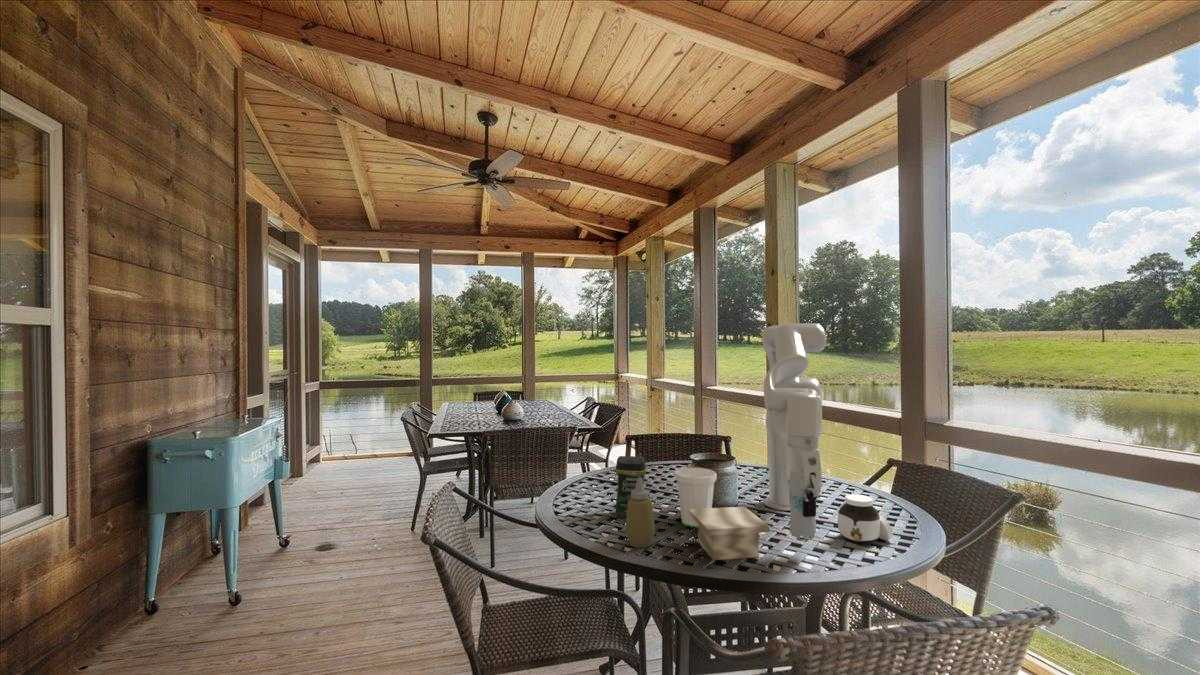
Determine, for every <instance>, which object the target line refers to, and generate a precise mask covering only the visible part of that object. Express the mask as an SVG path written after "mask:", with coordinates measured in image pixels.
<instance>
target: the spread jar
mask: <svg viewBox="0 0 1200 675" xmlns="http://www.w3.org/2000/svg"><path fill="white" fill-rule="evenodd" d="M844 501H845V502H844V503H843V504H842V505H841V506H840V508H839V509H838V512H837V513H838V514H837V526H838V528H837V529H838V532H839V534H840V535H841V537H842V538H843V539H844V540H845V541H847V542H849V543H851V544H855V545H860V546H861V545H862V546H867V545H872V544H874V543H875V542H876V541H878V540H879V539H881V540H883V541H889V540H891V539H892V538H894V533H893V529H892V527H891V525H890V524H889V522H888V521H887V519H886V518H885V517H884V516H882V515H881V514H880V513H879V512H878V510H877V509H876V507H874V506H873V498H872V497H870V496H867V495H863V494H846V495H845V496H844Z"/></svg>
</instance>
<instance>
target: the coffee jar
mask: <svg viewBox="0 0 1200 675" xmlns="http://www.w3.org/2000/svg"><path fill="white" fill-rule="evenodd" d="M646 466H647V465H646V460H645V457H644V456H635V455H634V456H632V455H625V456H624V455H619V456H618V458H617V459H616V465H615V472H616V475H617V492H616V500H615V501H616V502H615V515H616V516H618V517H619V518H625V519H626V518H627V507H628V500H629V499H630V498H632V497H631V492H632V490H635V488H636V483H637V479H638V478H642V481H643V485H644V486H645V476H646V473H647V467H646Z"/></svg>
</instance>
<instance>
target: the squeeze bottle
mask: <svg viewBox="0 0 1200 675" xmlns="http://www.w3.org/2000/svg"><path fill="white" fill-rule="evenodd" d="M631 497H632V498H630V499H629V500H628V507H627V518H625V520H626V521H625V530H624V531H625V534H626V537H627V541H628V543H629V545H630V546H631V547H632V548H633V547H634V548H637V549H638V548H639V549H641V548H648V547H650V546H651V545H652V543H653V539H654V535H655V533H656V526H655V520H654V519H655V518H654V509H653V508H654V507H653V501H652V499H650V498H649V491H648V490H647V489H645V484H644V485H643V481H642V478H638V479H637V483H636V488H635V490H632V492H631Z"/></svg>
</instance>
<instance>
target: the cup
mask: <svg viewBox="0 0 1200 675" xmlns="http://www.w3.org/2000/svg"><path fill="white" fill-rule="evenodd" d="M674 478H675V480H676V483H677V492H678V500H679V508H680V516H681V523H682V525H684V526H685V525H686V527H688V526H690V527H689V528H693V527H695V528H694V529H696V528H698V524H697V523H696V522H695V521H694V520H693V519H692V517H691V516H690V515H689V509H705V508H713V500H714V499H713V498H714V488H715V482H716V481H717V478H718V476H717V472H716V471H714V470H712V469H710V468H704V467H683V468H679V469H677V470H675V471H674Z"/></svg>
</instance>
